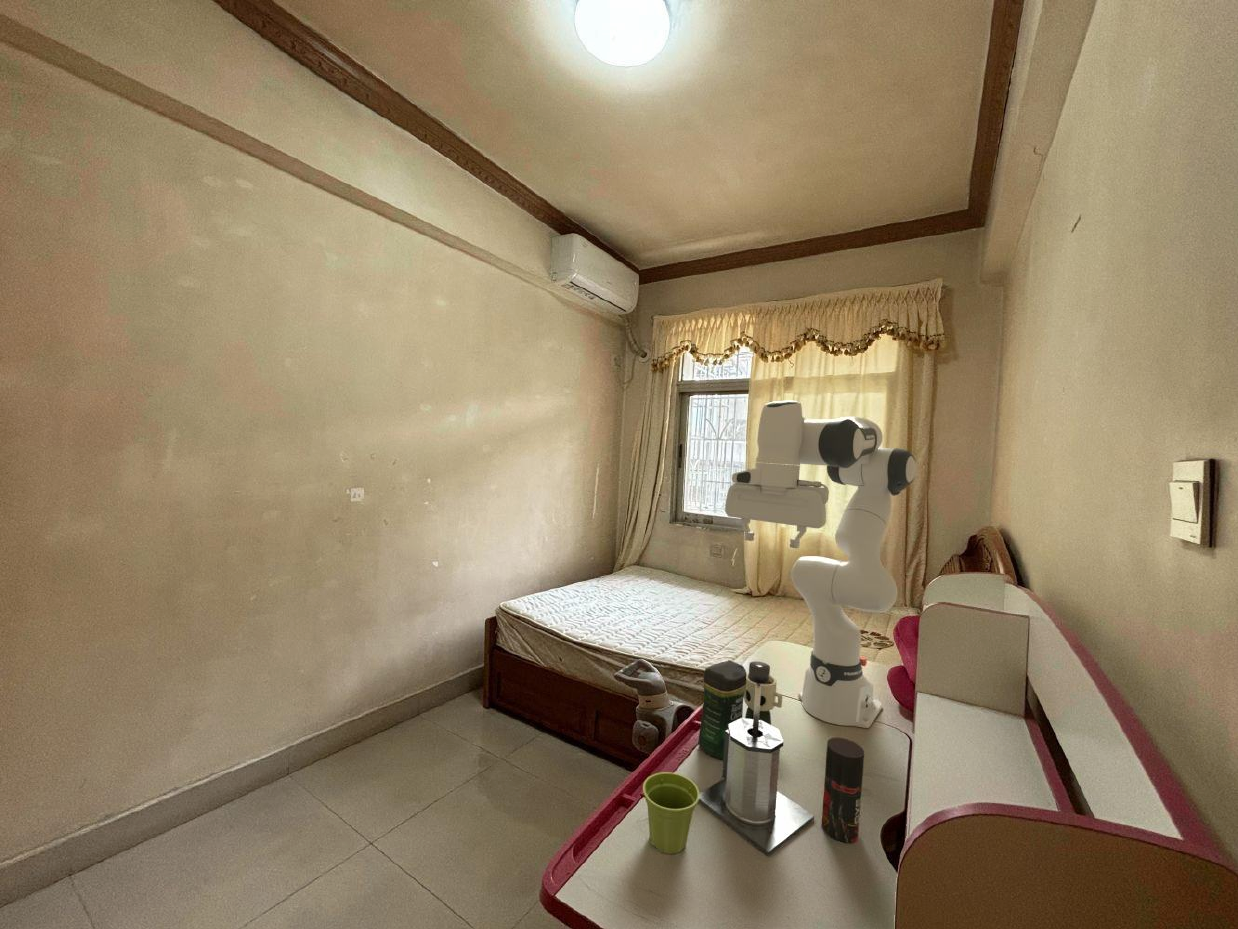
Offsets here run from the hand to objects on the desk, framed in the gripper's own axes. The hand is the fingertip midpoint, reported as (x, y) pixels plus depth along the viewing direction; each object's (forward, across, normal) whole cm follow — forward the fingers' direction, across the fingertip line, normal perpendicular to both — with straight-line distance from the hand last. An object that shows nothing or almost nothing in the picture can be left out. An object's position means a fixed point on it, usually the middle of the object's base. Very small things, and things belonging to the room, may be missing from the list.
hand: (771, 544), depth 105 cm
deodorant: (+47, -18, +9) cm, 51 cm away
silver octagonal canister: (+47, -4, +14) cm, 49 cm away
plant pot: (+48, +5, +29) cm, 56 cm away
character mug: (+47, +3, -12) cm, 48 cm away
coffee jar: (+47, +8, -1) cm, 48 cm away
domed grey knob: (+34, -4, +15) cm, 37 cm away
